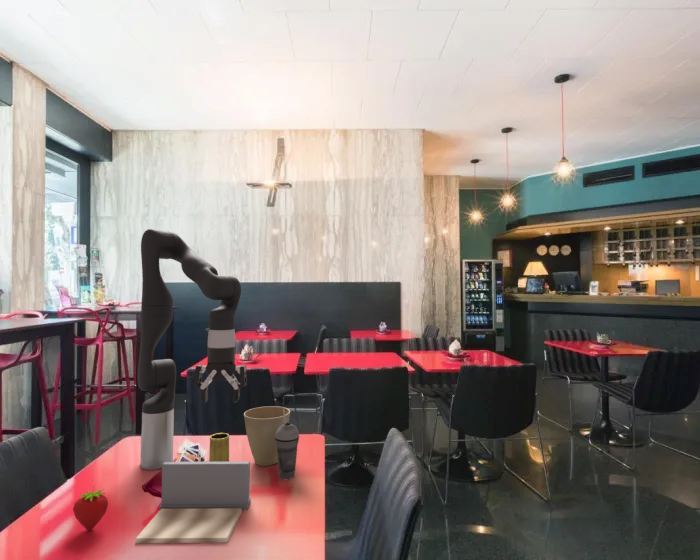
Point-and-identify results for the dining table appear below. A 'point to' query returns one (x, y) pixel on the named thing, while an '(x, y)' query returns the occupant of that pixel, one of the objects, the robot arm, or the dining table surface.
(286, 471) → the beverage cup
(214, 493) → the screen
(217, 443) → the vase
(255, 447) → the plant pot
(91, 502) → the strawberry
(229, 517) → the board
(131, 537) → the dining table surface
